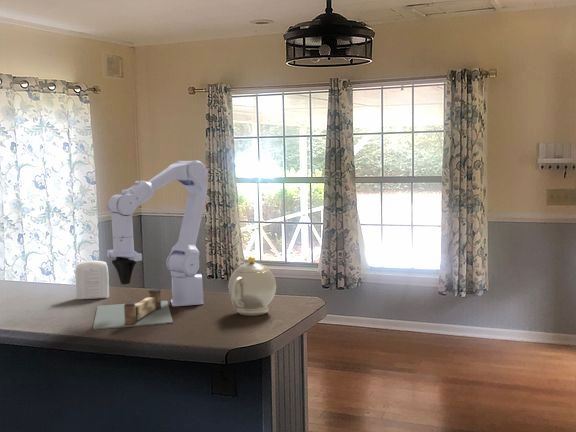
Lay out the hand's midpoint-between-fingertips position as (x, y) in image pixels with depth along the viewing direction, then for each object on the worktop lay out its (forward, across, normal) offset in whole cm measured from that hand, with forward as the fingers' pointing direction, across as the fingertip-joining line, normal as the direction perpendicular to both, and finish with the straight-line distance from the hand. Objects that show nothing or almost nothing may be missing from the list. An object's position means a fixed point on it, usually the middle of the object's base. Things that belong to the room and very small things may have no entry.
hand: (125, 283), depth 186 cm
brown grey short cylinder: (+9, +1, +9) cm, 13 cm away
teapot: (+10, +28, +23) cm, 37 cm away
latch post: (+9, +10, -6) cm, 15 cm away
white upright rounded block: (+10, -29, +7) cm, 32 cm away
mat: (+9, 0, +2) cm, 9 cm away
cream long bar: (+8, +6, +2) cm, 10 cm away
